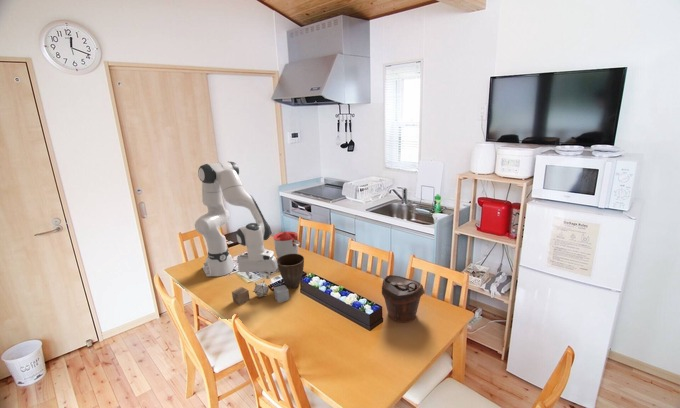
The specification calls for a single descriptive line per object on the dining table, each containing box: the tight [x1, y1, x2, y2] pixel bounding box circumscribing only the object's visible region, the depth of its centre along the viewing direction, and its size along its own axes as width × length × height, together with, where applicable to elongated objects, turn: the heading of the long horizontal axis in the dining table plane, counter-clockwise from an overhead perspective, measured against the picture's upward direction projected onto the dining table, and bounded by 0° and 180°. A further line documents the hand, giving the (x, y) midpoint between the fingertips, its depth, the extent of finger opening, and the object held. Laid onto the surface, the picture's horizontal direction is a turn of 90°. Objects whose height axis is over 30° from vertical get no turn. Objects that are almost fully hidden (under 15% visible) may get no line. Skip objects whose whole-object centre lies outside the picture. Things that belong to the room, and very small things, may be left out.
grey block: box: [273, 284, 290, 304], centre depth 174 cm, size 6×6×6 cm
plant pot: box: [276, 253, 305, 289], centre depth 185 cm, size 15×15×16 cm
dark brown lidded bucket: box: [381, 274, 425, 323], centre depth 154 cm, size 18×20×18 cm
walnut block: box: [231, 286, 251, 306], centre depth 174 cm, size 6×6×6 cm
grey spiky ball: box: [252, 281, 271, 300], centre depth 177 cm, size 9×8×10 cm
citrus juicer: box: [272, 231, 301, 259], centre depth 216 cm, size 16×17×20 cm
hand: (259, 278), depth 175 cm, fingers open, 8 cm apart
